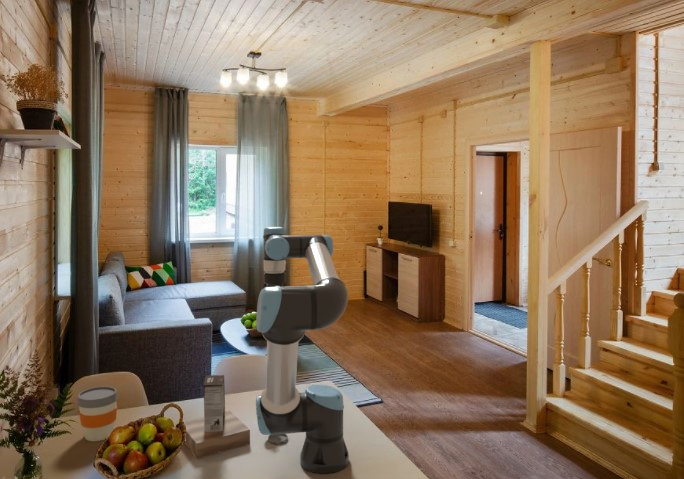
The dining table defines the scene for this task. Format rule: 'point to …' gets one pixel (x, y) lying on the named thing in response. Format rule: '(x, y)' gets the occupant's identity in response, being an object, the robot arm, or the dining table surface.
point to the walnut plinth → (216, 436)
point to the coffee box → (214, 403)
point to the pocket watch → (278, 438)
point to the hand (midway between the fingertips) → (275, 331)
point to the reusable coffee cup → (97, 412)
